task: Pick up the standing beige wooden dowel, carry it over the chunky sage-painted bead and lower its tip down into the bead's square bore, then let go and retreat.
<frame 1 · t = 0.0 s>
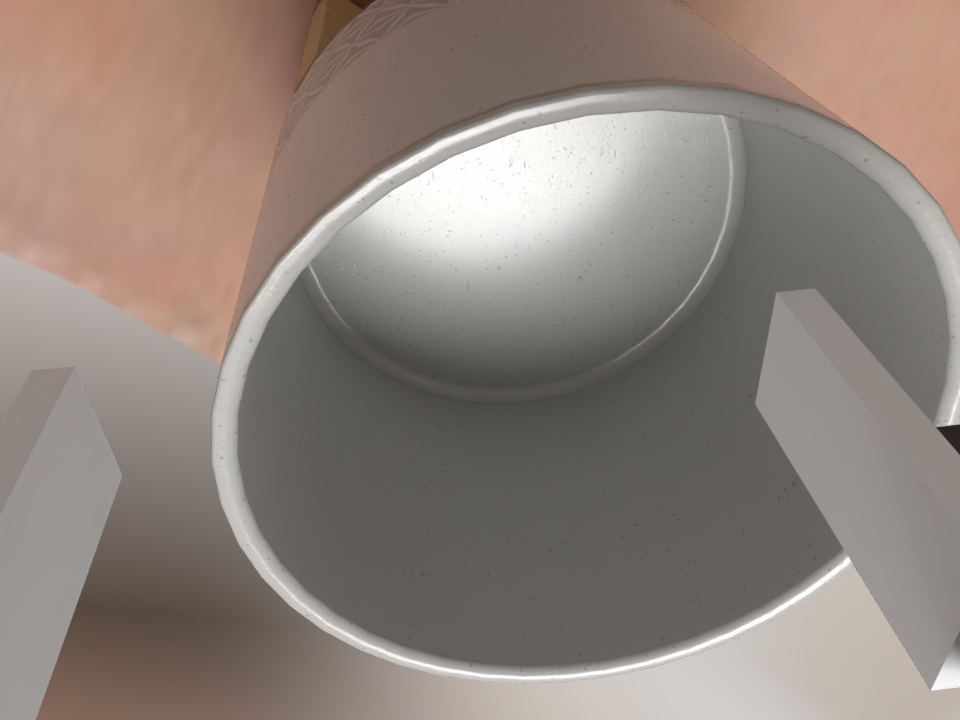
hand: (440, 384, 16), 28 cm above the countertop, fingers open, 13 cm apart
planter: (483, 113, 41), on the countertop
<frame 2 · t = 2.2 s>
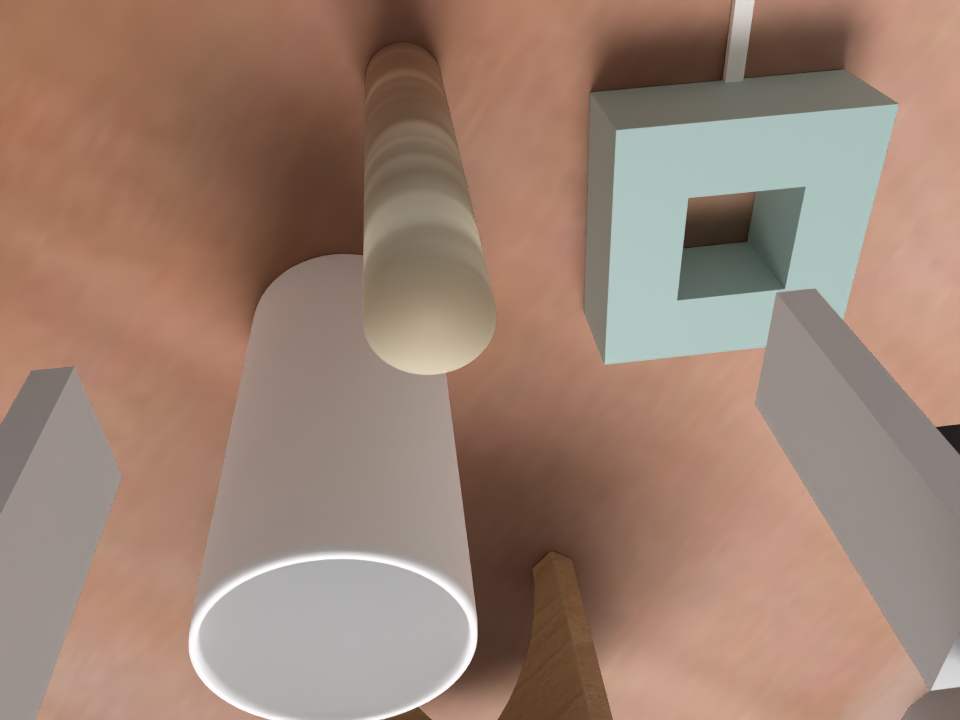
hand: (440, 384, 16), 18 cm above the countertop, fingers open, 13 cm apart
bead: (703, 200, 34), on the countertop
cup 2: (953, 706, 63), on the countertop
planter: (466, 639, 51), on the countertop
beige wooden dowel: (403, 81, 30), on the countertop
cup: (348, 332, 36), on the countertop
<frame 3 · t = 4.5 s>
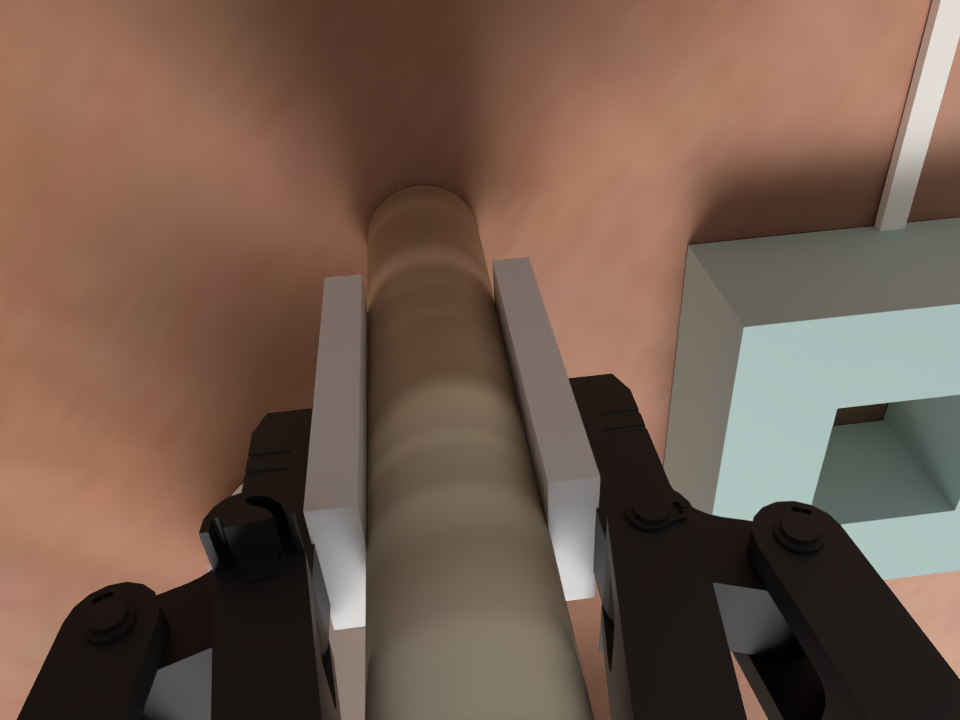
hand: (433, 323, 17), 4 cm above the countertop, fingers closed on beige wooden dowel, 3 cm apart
bead: (831, 373, 25), on the countertop
cream stick: (921, 95, 20), on the countertop
beige wooden dowel: (423, 236, 21), on the countertop, touching gripper
cup: (344, 536, 27), on the countertop
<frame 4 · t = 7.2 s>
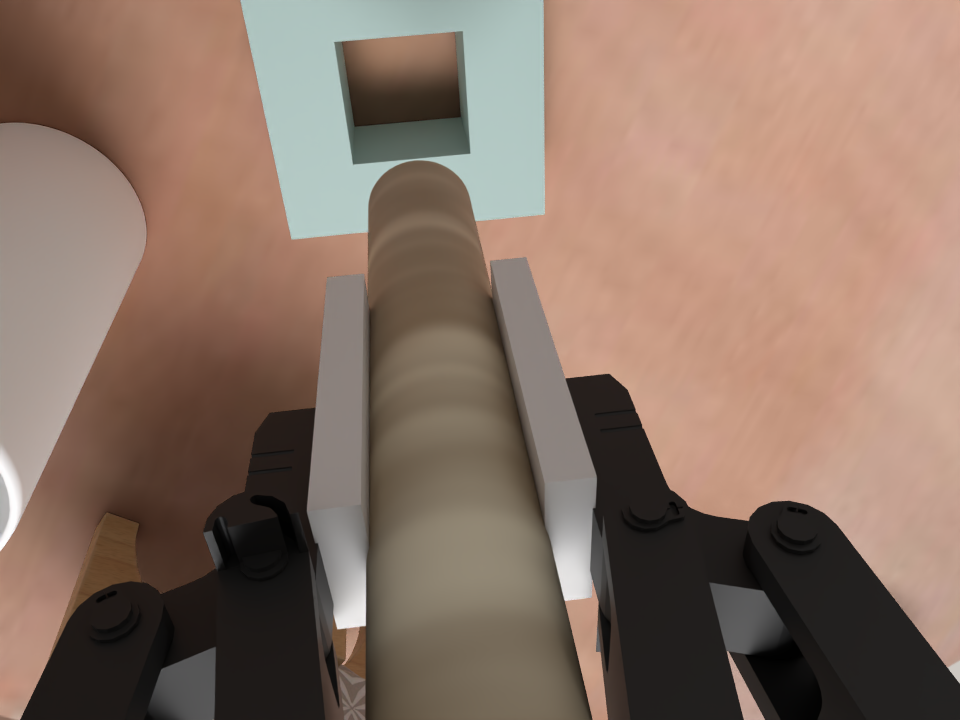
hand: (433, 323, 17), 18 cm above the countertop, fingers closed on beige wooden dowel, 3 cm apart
bead: (401, 67, 32), on the countertop
planter: (258, 571, 49), on the countertop
beige wooden dowel: (419, 209, 22), point 13 cm above the countertop, touching gripper
cup: (45, 215, 34), on the countertop
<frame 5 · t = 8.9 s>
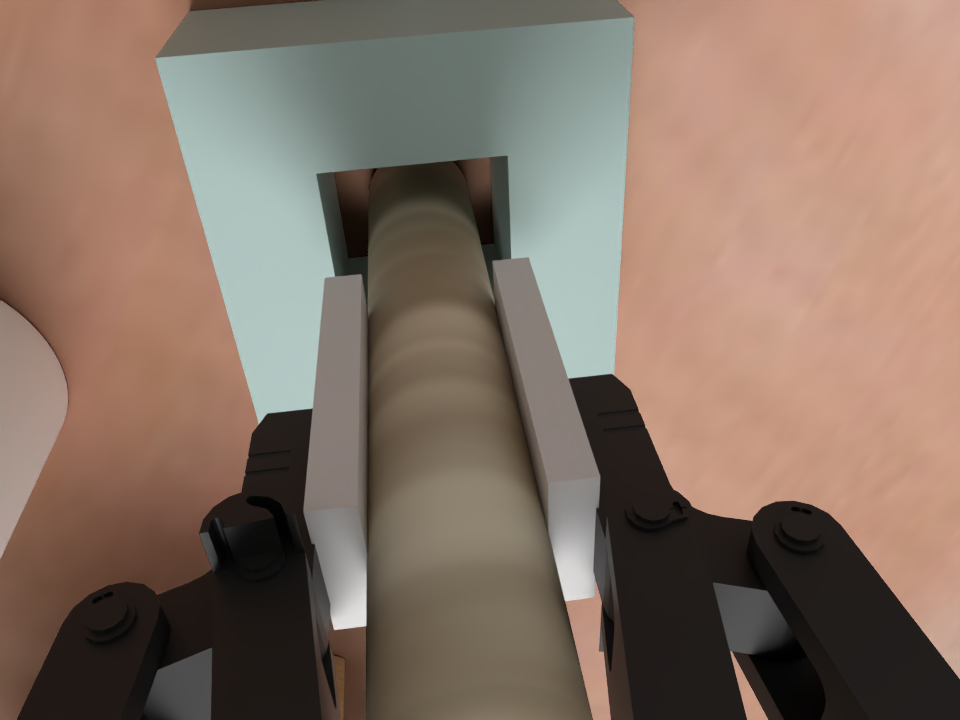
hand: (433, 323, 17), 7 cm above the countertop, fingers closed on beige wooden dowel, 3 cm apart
bead: (414, 182, 23), on the countertop
beige wooden dowel: (418, 197, 23), point 1 cm above the countertop, touching gripper
when the fingers open (6 cm above the countertop, at t = 9.9 s): beige wooden dowel stays where it is, resting in bead.
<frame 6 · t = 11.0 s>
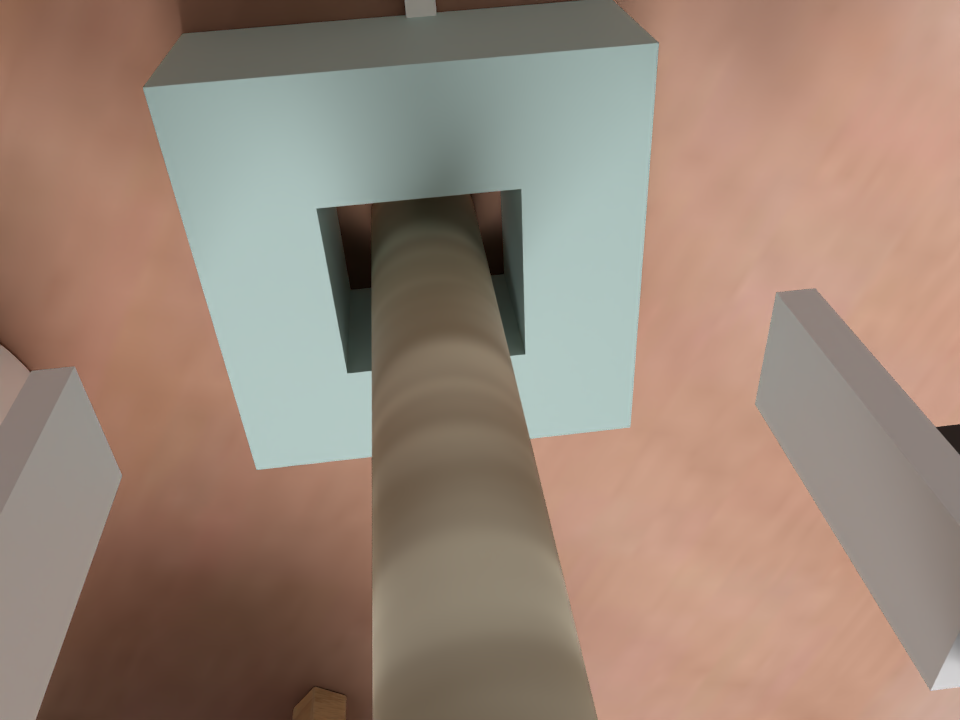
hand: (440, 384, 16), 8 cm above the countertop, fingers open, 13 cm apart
bead: (420, 211, 22), on the countertop
beige wooden dowel: (423, 216, 22), resting in bead
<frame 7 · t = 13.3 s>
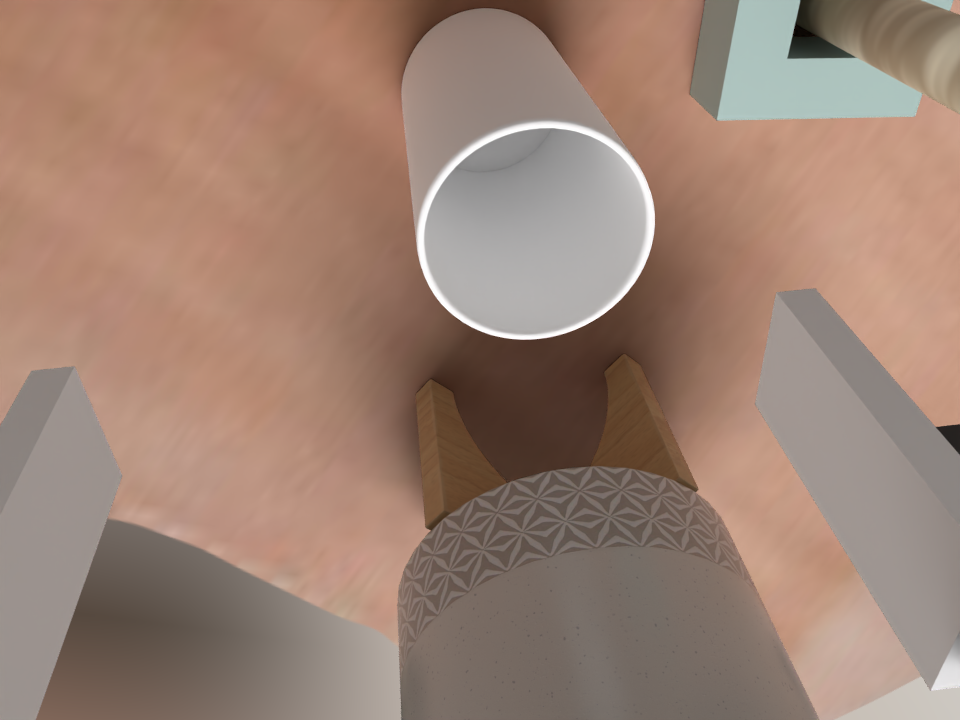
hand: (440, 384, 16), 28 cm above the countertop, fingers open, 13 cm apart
planter: (532, 449, 55), on the countertop
cup: (483, 94, 41), on the countertop
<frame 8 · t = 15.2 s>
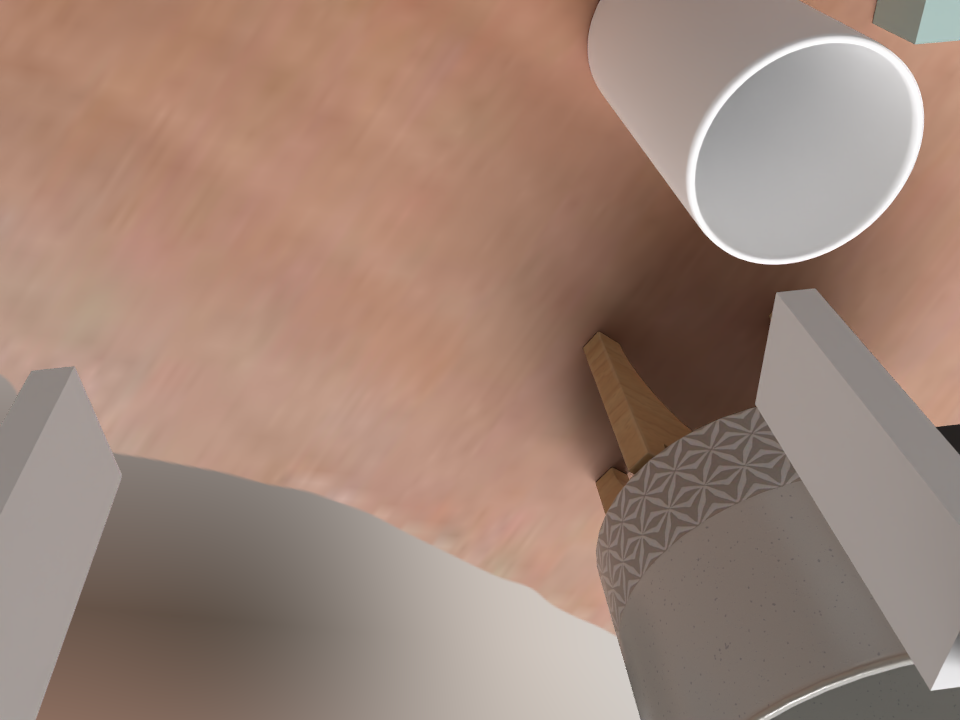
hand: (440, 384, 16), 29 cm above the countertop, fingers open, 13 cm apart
planter: (692, 398, 55), on the countertop
cup: (666, 37, 41), on the countertop
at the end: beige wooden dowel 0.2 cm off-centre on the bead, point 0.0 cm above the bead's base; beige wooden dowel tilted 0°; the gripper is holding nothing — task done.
